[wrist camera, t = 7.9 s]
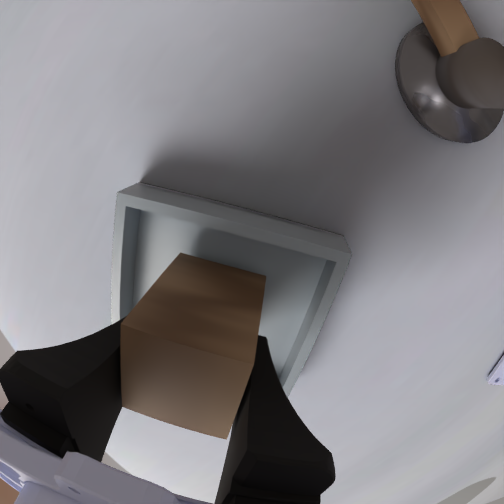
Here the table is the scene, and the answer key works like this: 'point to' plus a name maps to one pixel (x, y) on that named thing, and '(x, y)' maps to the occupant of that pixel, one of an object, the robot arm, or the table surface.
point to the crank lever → (463, 56)
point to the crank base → (436, 93)
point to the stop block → (192, 345)
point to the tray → (231, 262)
